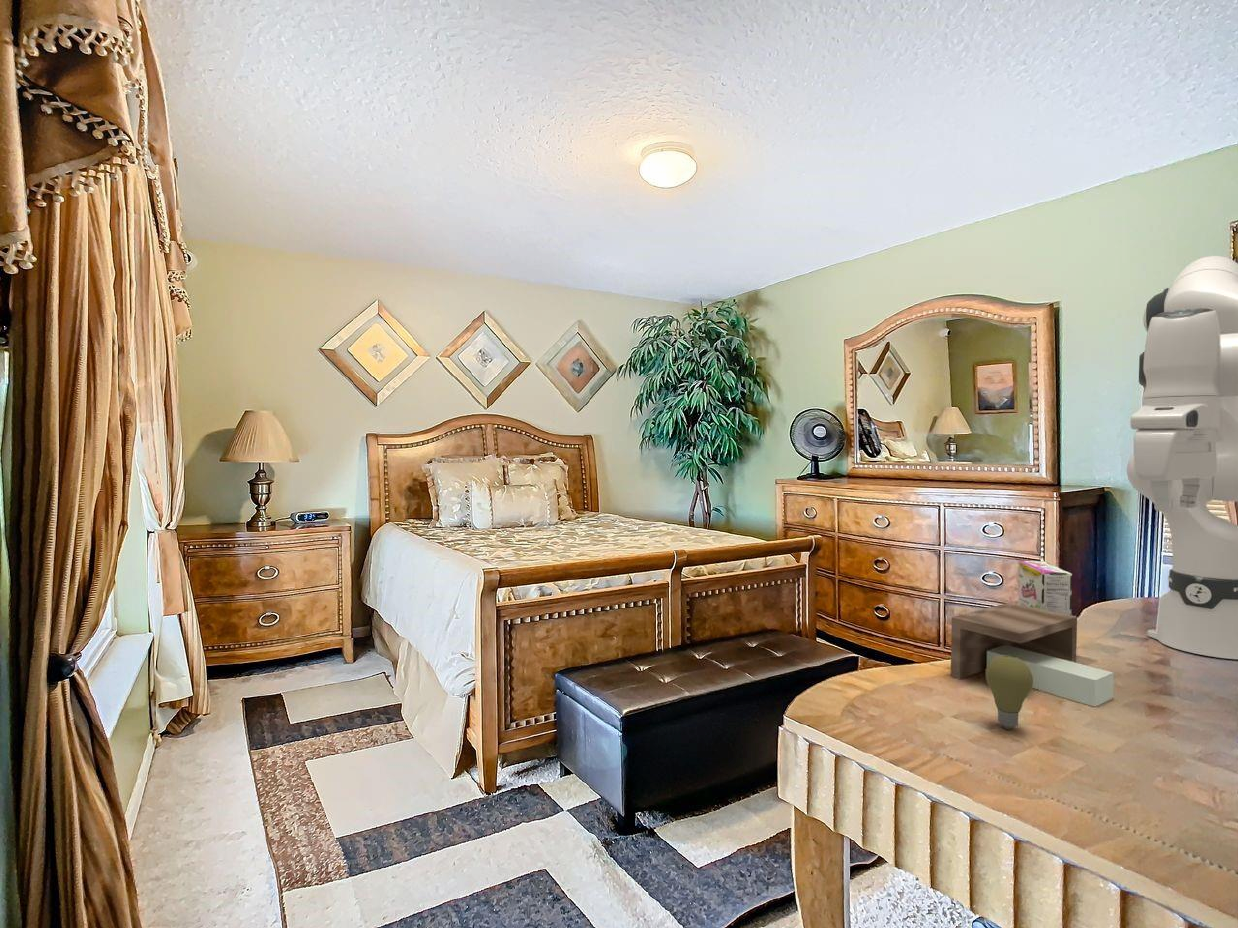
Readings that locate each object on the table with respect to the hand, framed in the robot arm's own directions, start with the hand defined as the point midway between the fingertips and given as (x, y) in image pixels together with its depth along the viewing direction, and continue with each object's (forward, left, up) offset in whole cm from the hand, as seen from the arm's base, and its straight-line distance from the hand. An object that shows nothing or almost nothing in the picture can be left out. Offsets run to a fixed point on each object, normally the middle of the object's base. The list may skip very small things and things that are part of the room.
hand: (1176, 509), depth 99 cm
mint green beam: (+10, -13, -29) cm, 33 cm away
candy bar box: (-6, -21, -29) cm, 37 cm away
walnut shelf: (+10, -18, -29) cm, 36 cm away
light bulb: (+31, -8, -29) cm, 43 cm away
